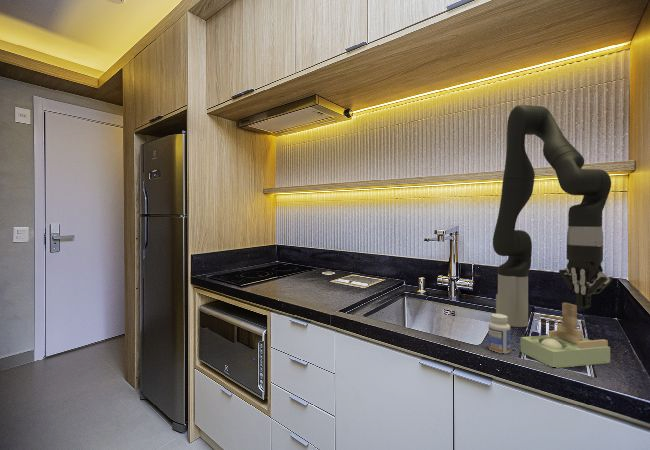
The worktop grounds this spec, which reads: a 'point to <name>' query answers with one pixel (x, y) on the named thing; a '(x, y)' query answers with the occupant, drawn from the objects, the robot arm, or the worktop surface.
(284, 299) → the worktop surface
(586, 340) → the green tray
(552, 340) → the ball
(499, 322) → the pill bottle
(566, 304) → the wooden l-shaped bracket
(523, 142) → the robot arm
